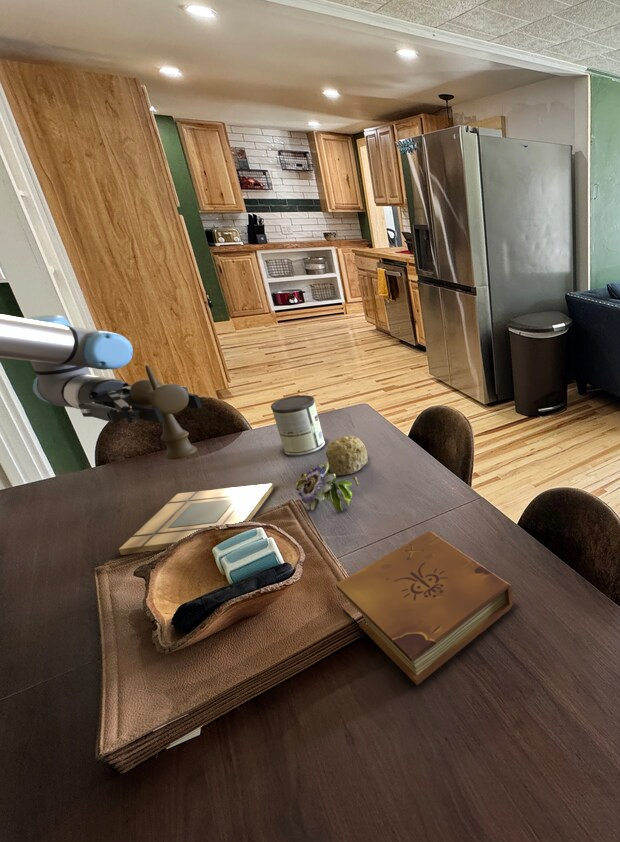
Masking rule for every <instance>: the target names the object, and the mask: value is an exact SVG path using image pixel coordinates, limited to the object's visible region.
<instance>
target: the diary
mask: <svg viewBox="0 0 620 842" xmlns="http://www.w3.org/2000/svg"><path fill="white" fill-rule="evenodd" d="M335 587H336V589H337V590H338V591H339V592H340V593H341V594H342V595H343V597H344V599H345V598H346V600H348V602H350V604H351V605H352V606H353V607H355V609H357V611H359V612H360V613H361V614H362V615H363V617H364V619H365V621H366V623H367V625H368V626H367V625H366V624H365V622H364V623H360V624H359V625H358V626H359V628H360V629H361V630H363V632H364V633H366V635H367V636H369V638H370V639H371V640H372V641H373V642H374V643H375V644H376V645H377V646H378V647H379V648H380V649H381V650H382V651H383V653H385V654H386V655H387V656H388V657H389V658H390V659H391V660H392V661H393V663H395V665H396V666H398V668H399V669H400V670H401V671H402V672H403V673H404V674H405V675H406V676H407V677H408V678H409V679H410V680H411V681H412V682H413V683H414V684H415V685H416V686H419V684H421V683H422V682H424V681H425V680H426V679H427V678H428V677H430V675H432V674H433V673H435V671H436V670H438V669H439V668H440V667H442V666H443V665H444V664H445V663H447V662H448V661H449V660H451V658H453V657H454V656H455V655H456V654H457V653H459V652H460V651H462V649H464V648H465V647H466V646H467V645H468V644H470V643H471V642H473V640H475V639H476V638H477V637H478V636H479V635H481V634H482V633H483V632H484V631H486V630H487V629H488V628H490V627H491V626H492V625H493V624H495V622H497V621H498V620H499V619H500V618H502V617H503V615H505V614H506V613H507V612H509V611H510V610H511V608H512V606H513V604H514V594H513V586H512V585H511V584H510V583H509V582H507V581H506V580H504V579H502V578H501V577H500V576H498V575H497V574H495V573H494V572H492V571H491V570H489V568H487V567H485V566H484V565H482V564H481V563H479V562H478V561H476V560H474V559H473V558H472V557H471V556H469V555H467V554H466V553H464V552H463V551H461V550H460V549H459V548H457V547H455V546H454V545H452V544H450V543H449V542H448V541H447V540H445V539H444V538H442V537H440V536H439V535H437V534H436V533H435V532H433V531H430V530H428V531H426V532H425V533H423V534H421V535H419V536H418V537H415V538H414V539H412V540H411V541H409V542H407V543H405V544H404V545H402V546H400V547H398V548H397V549H395V550H393V551H391V552H389V553H387V554H386V555H384V556H382V557H380V558H379V559H377V560H375V561H374V562H372V563H370V564H368V565H366V566H365V567H363V568H361V569H359V570H358V571H356V572H354V573H353V574H351V575H348V576H347V577H345V578H343V579H342V580H340V581H337V582H336V583H335ZM346 600H345V601H346Z"/></svg>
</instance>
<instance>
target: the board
mask: <svg viewBox="0 0 620 842" xmlns="http://www.w3.org/2000/svg"><path fill="white" fill-rule="evenodd" d="M274 489H275V488H274V485H273V483H266V484H265V483H264V484H257V485H255V484H253V485H246V486H236V487H235V486H234V487H226V488H217V489H207V490H195V491H189V492H179V493H176V494H175V496H173V497H172V498H171V499H170V500H169V501H168V502H166V504H165V505H164V506H163V507H161V508H160V510H158V511H157V512H156V513H155V514H154V515H153V516H152V517H150V519H149V520H147V522H146V523H144V525H142V526H141V528H139V529H138V530H137V531H136V532H135V533H134V534H132V535H131V537H130V538H129V539H127V541H126V542H124V543H123V545H122V546H120V547H119V548H118V551H119V553H120V555H121V556H125V555H132V554H133V555H134V554H141V553H142V552H143V553H146V552H145V551H149V550H153V551H152V552H157V551H158V550H159V551H164V550H163V549H166V548H168V547H169V546H171V545H172V544H174V543H176V542H178V541H179V540H181V539H183V538H185V537H187V536H189V535H190V534H192V533H194V532H196V531H198V530H201V529H203V528H206V527H209V526H216V525H225V524H235V523H239V522H243V521H249V520H250V521H252V520H253V518H254V516H255V515H256V514H257V512H258V511H259V510H260V508H261V507H262V506H263V504H264V503H265V501H266V500H267V499H268V498H269V497H270V495H271V493H273V491H274Z"/></svg>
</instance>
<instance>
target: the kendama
mask: <svg viewBox="0 0 620 842" xmlns="http://www.w3.org/2000/svg"><path fill="white" fill-rule="evenodd" d="M144 369H145V372H146V374H147V378H142V379H140V380H137V381H135V382H134V383H133V384H132V385H131V388H130V396H131V398H132V399H133V401H134V402H136V403H137V404H139V405H144V406H151V407H155V408H159V409H160V412H161V415H162V417H163V420H164V421H163V422H161V425H162V435H161V436H160V440H161V442H164V443H165V446H166V450H167V451H166V452H165V454H164V456H165V458H166V459H167V460H173V461H175V460H181V459H185V458H188V457H191V456H193V455H194V454H196V453H197V450H198V448H197V447H196V446H194V444H192V443H191V442H190V440H189V438H188V436H189V432H188V431H187V430H185V429H183V428H182V427H181V425H180V423H178V421H177V420H176V418H175V416H174V414H177V413H180V412H181V411H183V410H185V408H186V407H187V405H188V401H189V396H188V393H187V391H186V390H185V389H184V388H183V387H182V386H183V385H180V384H177V383H167V384H166V383H162V382H161V381H159V380H158V379H156V376H155V374H154V372H153V370H152V369H151V367H150V366H149V365H148V364H145V368H144ZM163 384H165V385H163Z"/></svg>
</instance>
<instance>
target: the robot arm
mask: <svg viewBox="0 0 620 842" xmlns="http://www.w3.org/2000/svg"><path fill="white" fill-rule="evenodd" d="M133 354H134V349H133V345H132V343H131V342H130V340H129V339H127V338H126V337H125V336H123V335H122V334H119V333H115V332H111V331H107V330H95V329H90V328H89V329H88V328H84V327H77V326H72V325H71V324H70V322H69V321H68V319H67V317H65V316H63V315H60V314H47V315H46V314H45V315H37V316H30V317H19V316H13V315H9V314H1V313H0V358H1V359H8V360H9V359H11V360H18V361H26V362H27V361H28V362H30V365H31V366H32V369H33V371H34V372H35V376H36V378H35V379H34V380H33V384H32V391H33V393H34V394H35V396H36V397H37V398H39V400H41V401H43V402H46V403H49V404H51V405H53V406H57V407H63V408H65V407H67V408H73V409H74V408H75V409H77V410H80V412H81V414H82V417H84V418H94V419H98V420H102V421H105V422H109V423H112V424H117V423H120V422H121V421H122V419H125V420H126V423H127V424H132V423H135V422H136V421H137V420H144V421H147V422H148V421H150V422H154V423H162V422H163V421H164V420H163V417H162V415H161V412H160V409H159V408H155V407H152V406H151V405H147V406H145V405H139V404H137V403H136V402H134V401H133V399H132V398H131V396H130V388H131V386H132V385H131V384H129V383H128V382H126V381H125V380H122V379H119V378H112V377H107V376H101V375H93V374H91V371H90V368H91V369H96V370H104V371H105V370H117V369H118V370H119V369H121V368H123V367H125V366H127V365H128V364H129V363H130V362H131V361H132V358H133ZM162 384H163V385H165V384H166V383H162ZM181 386H182V387H183V388H184V389H185V390H186V391H187V393H188V396H189V401H188V405H187V406H186V407H187V408H193V409H201V408H203V405H202V403H201V400H200V397H199V395H198V394H195V393H190V392H189V389H188V387H187V386H186V385H181Z"/></svg>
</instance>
